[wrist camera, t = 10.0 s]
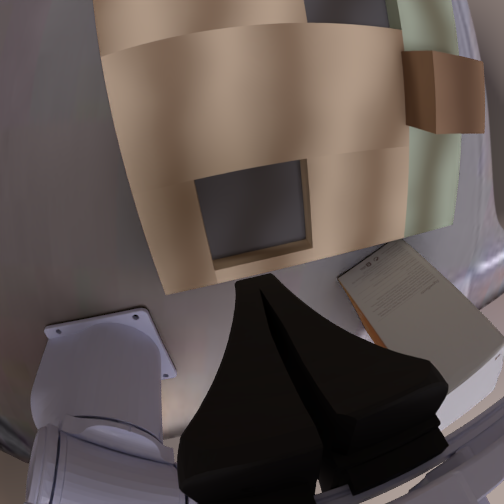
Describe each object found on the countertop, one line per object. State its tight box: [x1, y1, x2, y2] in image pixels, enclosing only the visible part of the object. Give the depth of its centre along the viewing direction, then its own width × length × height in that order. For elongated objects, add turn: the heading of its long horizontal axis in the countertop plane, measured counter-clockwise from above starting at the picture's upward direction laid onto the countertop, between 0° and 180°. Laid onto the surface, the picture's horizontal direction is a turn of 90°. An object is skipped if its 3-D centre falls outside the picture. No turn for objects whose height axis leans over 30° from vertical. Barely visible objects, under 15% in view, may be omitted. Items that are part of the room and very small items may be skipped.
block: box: [401, 51, 485, 134], centre depth 15 cm, size 5×5×3 cm
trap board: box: [93, 0, 461, 295], centre depth 16 cm, size 23×22×2 cm
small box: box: [338, 238, 504, 431], centre depth 20 cm, size 8×6×13 cm
